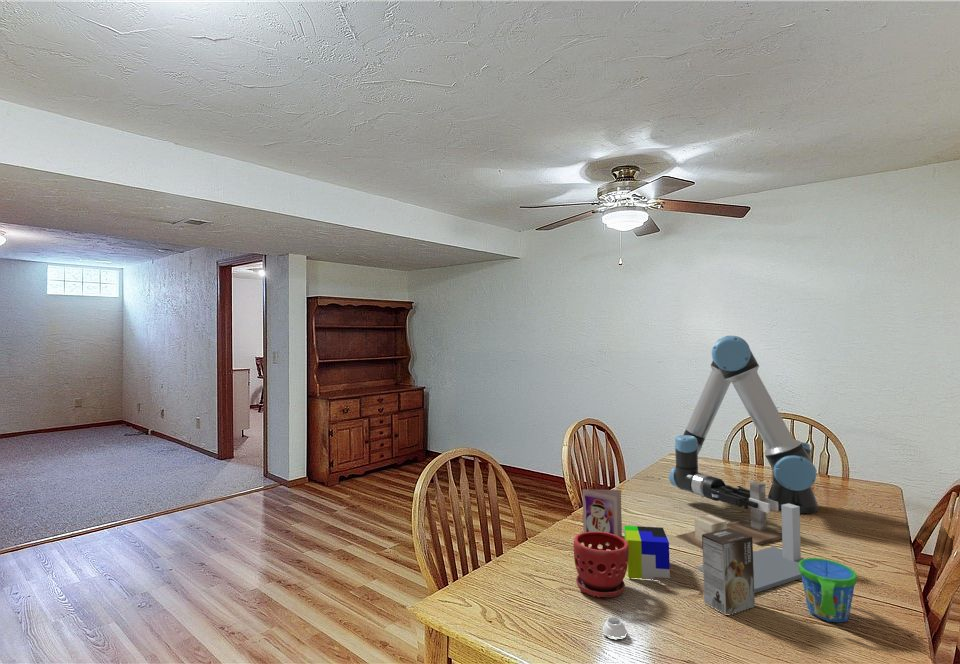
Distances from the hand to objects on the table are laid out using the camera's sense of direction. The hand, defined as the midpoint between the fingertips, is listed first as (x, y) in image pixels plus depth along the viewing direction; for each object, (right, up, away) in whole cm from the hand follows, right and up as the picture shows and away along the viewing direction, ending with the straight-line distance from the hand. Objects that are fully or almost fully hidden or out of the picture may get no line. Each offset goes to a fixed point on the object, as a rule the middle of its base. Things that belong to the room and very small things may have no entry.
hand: (773, 507), depth 152 cm
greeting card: (-51, -10, 0) cm, 52 cm away
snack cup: (-12, -9, -42) cm, 44 cm away
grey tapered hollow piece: (-61, -10, -47) cm, 78 cm away
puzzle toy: (-45, -10, -20) cm, 50 cm away
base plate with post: (-16, -9, -22) cm, 28 cm away
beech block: (-21, -8, -4) cm, 23 cm away
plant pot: (-59, -10, -29) cm, 66 cm away
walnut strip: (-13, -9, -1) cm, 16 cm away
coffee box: (-32, -10, -37) cm, 50 cm away
